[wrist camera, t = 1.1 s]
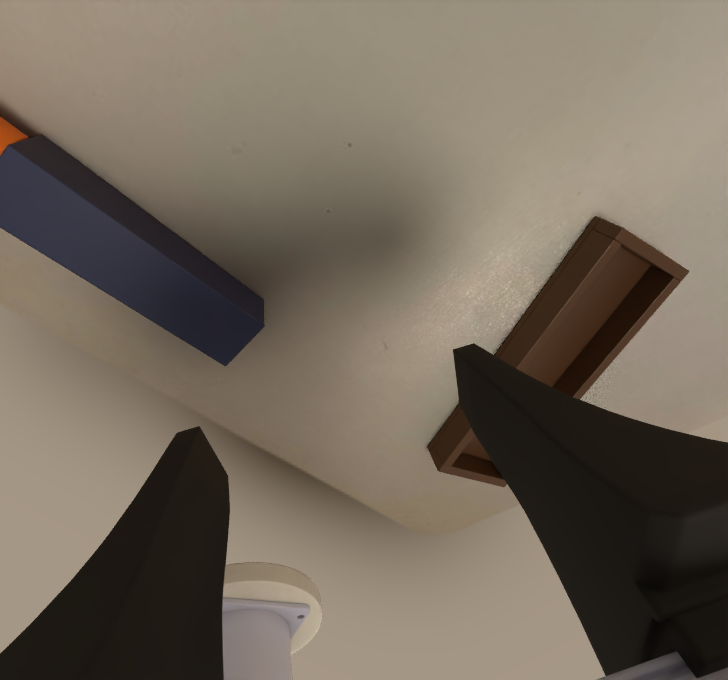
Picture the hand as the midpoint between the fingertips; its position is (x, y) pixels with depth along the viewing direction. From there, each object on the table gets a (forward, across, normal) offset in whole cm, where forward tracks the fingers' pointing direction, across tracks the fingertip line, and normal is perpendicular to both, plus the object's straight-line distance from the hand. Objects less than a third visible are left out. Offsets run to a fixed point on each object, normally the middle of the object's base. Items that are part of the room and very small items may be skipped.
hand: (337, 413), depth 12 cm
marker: (+10, +6, -4) cm, 12 cm away
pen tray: (+10, -11, +9) cm, 18 cm away
